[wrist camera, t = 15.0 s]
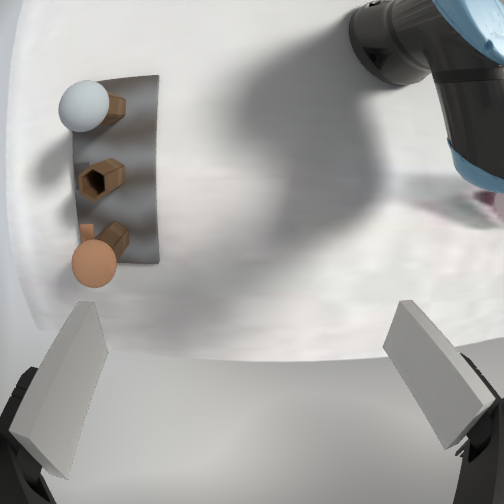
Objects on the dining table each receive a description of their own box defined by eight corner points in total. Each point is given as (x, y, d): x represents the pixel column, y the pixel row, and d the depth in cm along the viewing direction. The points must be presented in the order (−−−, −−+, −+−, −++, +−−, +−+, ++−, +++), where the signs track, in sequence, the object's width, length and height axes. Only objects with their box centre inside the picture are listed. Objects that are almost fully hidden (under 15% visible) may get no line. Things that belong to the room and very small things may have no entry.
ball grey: (74, 87, 27) (50, 82, 21) (117, 80, 27) (98, 73, 22) (72, 133, 29) (48, 136, 24) (115, 128, 30) (96, 130, 24)
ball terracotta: (79, 232, 34) (59, 250, 29) (119, 232, 35) (104, 251, 30) (86, 273, 37) (69, 295, 31) (124, 274, 37) (111, 298, 32)
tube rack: (77, 86, 33) (51, 80, 25) (159, 76, 34) (145, 65, 27) (86, 259, 44) (67, 282, 36) (159, 261, 45) (149, 286, 38)
